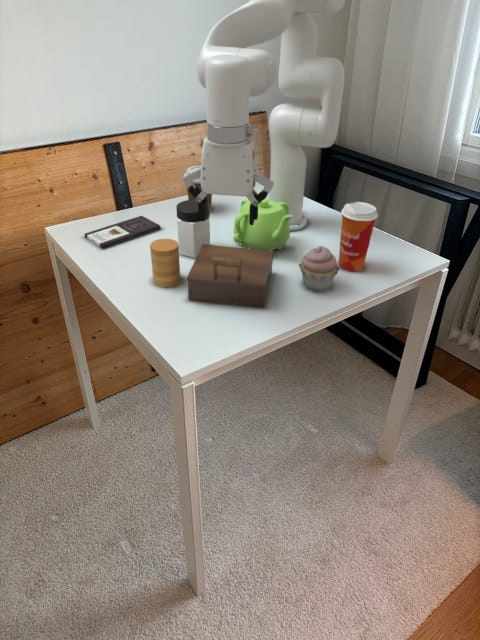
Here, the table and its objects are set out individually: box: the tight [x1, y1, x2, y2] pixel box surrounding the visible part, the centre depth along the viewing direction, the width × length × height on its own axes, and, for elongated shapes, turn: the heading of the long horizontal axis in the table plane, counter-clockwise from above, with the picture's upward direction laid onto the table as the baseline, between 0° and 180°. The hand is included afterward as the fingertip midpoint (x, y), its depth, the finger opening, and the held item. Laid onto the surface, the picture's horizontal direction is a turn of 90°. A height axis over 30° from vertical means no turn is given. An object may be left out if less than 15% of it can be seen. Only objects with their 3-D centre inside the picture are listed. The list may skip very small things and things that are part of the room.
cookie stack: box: [149, 238, 181, 288], centre depth 114 cm, size 6×6×9 cm
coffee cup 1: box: [182, 165, 213, 212], centre depth 148 cm, size 9×9×12 cm
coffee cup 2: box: [338, 201, 379, 272], centre depth 120 cm, size 8×8×15 cm
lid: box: [185, 244, 274, 289], centre depth 110 cm, size 16×17×5 cm
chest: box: [187, 255, 274, 309], centre depth 114 cm, size 15×17×5 cm
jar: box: [175, 199, 211, 259], centre depth 126 cm, size 9×8×12 cm
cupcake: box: [297, 245, 341, 292], centre depth 113 cm, size 9×9×10 cm
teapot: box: [232, 197, 293, 250], centre depth 129 cm, size 16×14×13 cm
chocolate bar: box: [84, 215, 161, 249], centre depth 137 cm, size 9×1×18 cm
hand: (228, 220), depth 101 cm, fingers open, 9 cm apart
